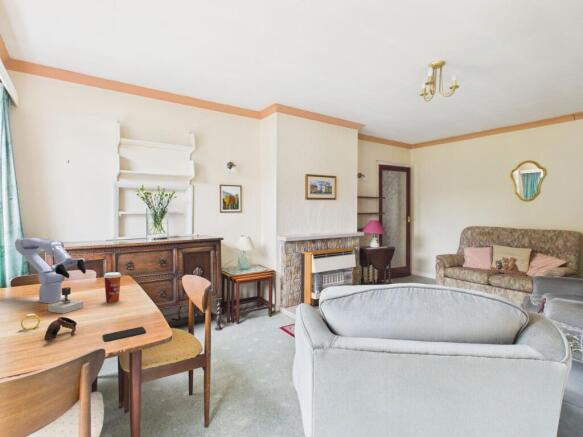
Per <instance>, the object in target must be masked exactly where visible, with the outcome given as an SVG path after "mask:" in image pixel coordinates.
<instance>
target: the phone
mask: <svg viewBox="0 0 583 437" xmlns="http://www.w3.org/2000/svg"><path fill="white" fill-rule="evenodd" d="M146 333H147V330H146V329H145V327H143V326H137V327H133V328H128V329H124V330H123V329H122V330H119V331H115V332H108V333H104V334H102V340H103V342H105V343H109V342H113V341H117V340H121V339H125V338H126V339H127V338H130V337H136V336H140V335H144V334H146Z"/></svg>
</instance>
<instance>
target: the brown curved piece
mask: <svg viewBox="0 0 583 437" xmlns="http://www.w3.org/2000/svg"><path fill="white" fill-rule="evenodd" d="M77 325H78V322H76V321H75V320H73V319H72V318H69V317H67V316H65V317H64V316H60V317H58V318H57V319H55V320H53V321H52V322H50V324H49V325H48V327H46V328H47V329H46V331H45V334H44V339H45V340H46V341H48V340H49V339H51V340H53V339H56V337H57V336H58V334H59V331H60V330H61V327H62V328H66V329H70V330H71V332H70V335H71V336H74V334H75V332H76V331H77Z"/></svg>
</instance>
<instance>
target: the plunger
mask: <svg viewBox="0 0 583 437" xmlns="http://www.w3.org/2000/svg"><path fill="white" fill-rule="evenodd" d="M71 293H72V292H71V287H69V286H67V287H61V296H64V298H65V299H64V300H61V301H62V302H64V303H67V302H70V300H69V295H71Z"/></svg>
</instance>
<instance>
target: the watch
mask: <svg viewBox="0 0 583 437" xmlns="http://www.w3.org/2000/svg"><path fill="white" fill-rule="evenodd" d="M33 317H34V318H37V323H36V324H35V325H34V326H30V327H26V326H24V325H23V322H24V320H26V319H27V318H33ZM40 323H41V319H40V316H38V315H36V313H28V314H26V316H24V317H23V318H22V320H21V321H20V327H22V329H23V330H31V329H35V328H37V327H38V326H39V324H40Z"/></svg>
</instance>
